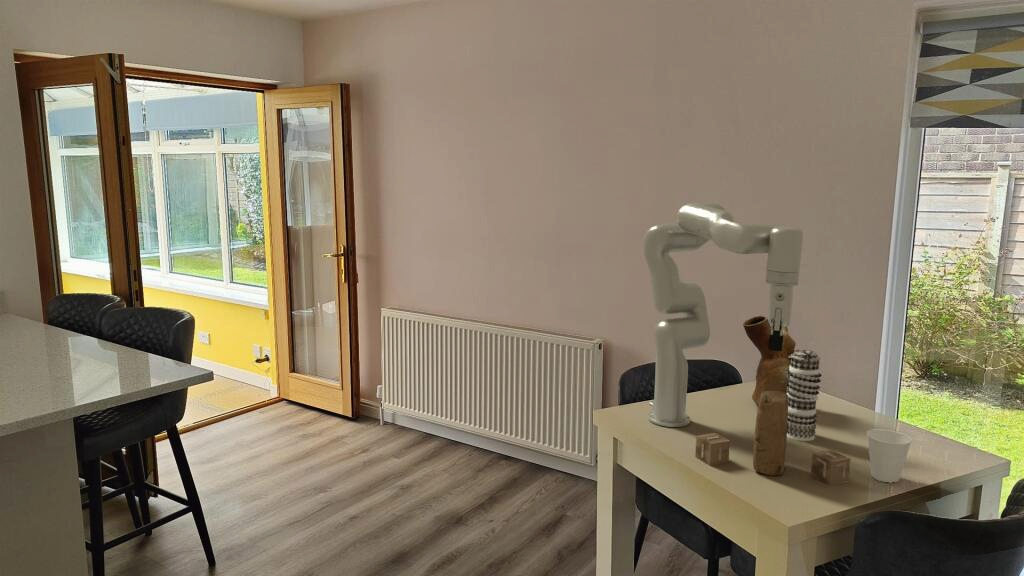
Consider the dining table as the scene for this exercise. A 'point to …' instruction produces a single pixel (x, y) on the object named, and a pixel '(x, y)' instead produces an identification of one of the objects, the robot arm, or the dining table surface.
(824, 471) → the walnut cube
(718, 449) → the walnut cube
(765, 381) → the ceramic vessel
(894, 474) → the cup
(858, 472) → the dining table surface
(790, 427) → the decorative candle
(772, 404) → the block
